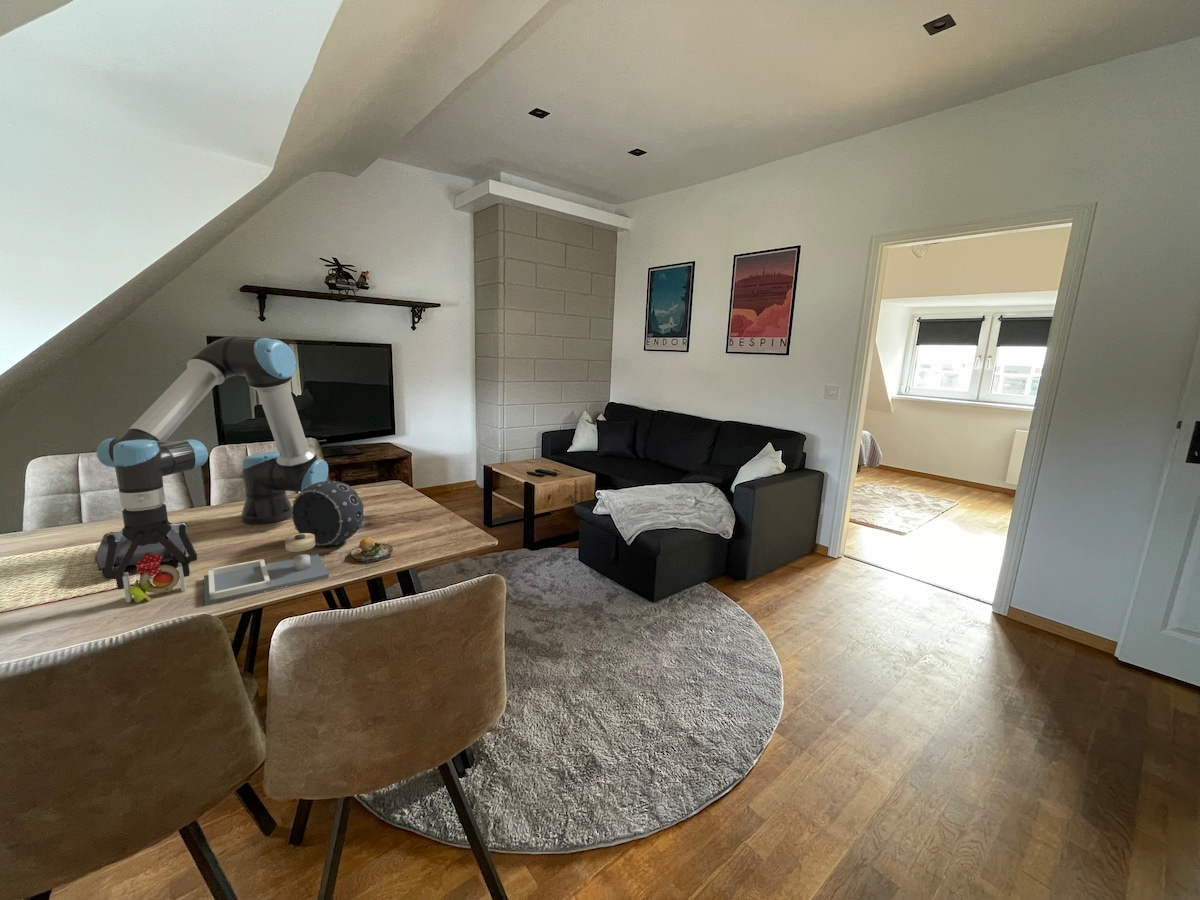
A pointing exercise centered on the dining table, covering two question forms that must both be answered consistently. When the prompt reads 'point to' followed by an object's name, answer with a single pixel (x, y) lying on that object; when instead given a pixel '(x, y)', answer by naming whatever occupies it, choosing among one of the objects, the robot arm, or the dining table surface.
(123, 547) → the toy tank
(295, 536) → the wheel
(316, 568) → the board
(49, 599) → the dining table surface
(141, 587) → the bird rattle
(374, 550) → the burger
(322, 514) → the dotted grey bowl
